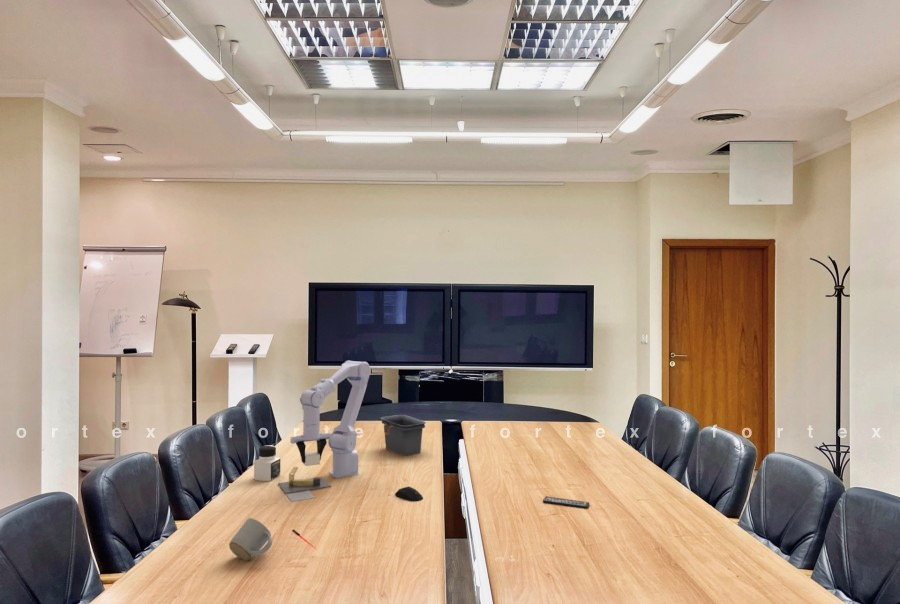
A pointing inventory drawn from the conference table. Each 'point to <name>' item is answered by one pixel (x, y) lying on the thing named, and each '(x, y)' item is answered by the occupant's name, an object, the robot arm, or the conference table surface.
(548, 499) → the multiport hub
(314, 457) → the cream foam cube
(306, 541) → the pen
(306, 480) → the l-shaped bracket
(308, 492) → the felt pad
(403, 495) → the gaming mouse
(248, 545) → the ceramic mug
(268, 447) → the medicine bottle
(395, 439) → the storage bin
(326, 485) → the base plate
